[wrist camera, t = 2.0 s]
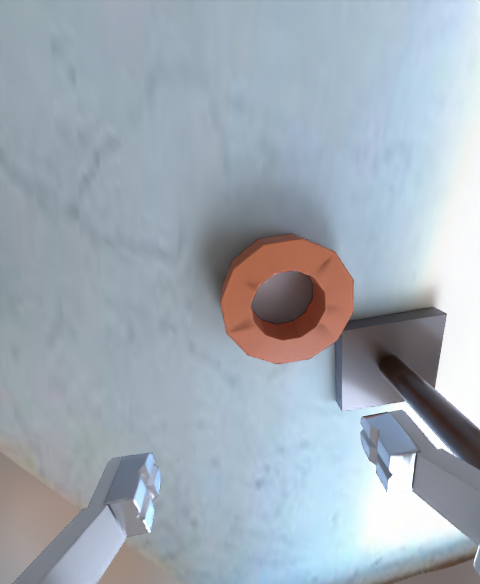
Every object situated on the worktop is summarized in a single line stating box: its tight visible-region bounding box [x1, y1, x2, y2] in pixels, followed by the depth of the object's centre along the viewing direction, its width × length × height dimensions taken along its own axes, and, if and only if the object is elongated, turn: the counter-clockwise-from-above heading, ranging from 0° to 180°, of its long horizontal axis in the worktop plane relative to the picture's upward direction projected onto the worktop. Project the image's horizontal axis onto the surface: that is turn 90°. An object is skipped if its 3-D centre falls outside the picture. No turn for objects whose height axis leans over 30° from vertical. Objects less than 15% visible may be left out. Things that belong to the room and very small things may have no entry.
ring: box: [220, 234, 354, 364], centre depth 22 cm, size 11×11×3 cm
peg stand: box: [335, 307, 480, 470], centre depth 20 cm, size 10×10×14 cm
